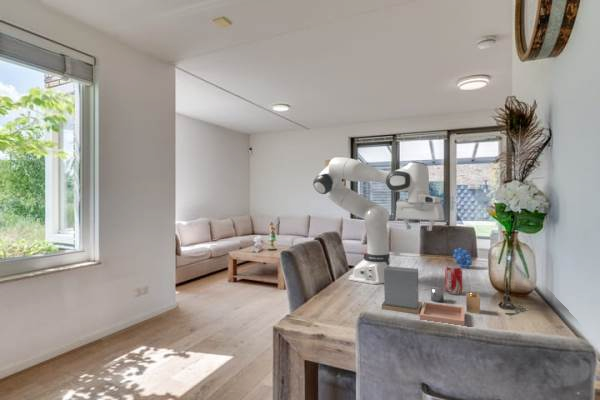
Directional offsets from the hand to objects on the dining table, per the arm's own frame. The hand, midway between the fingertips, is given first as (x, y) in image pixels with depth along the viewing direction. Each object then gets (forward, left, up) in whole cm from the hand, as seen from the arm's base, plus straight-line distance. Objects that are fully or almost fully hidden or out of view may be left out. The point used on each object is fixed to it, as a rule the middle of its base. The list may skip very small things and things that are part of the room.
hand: (418, 229), depth 137 cm
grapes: (+16, +64, -30) cm, 72 cm away
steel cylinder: (+7, -3, -29) cm, 30 cm away
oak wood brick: (+20, -10, -29) cm, 37 cm away
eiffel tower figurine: (+33, -1, -30) cm, 44 cm away
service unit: (-5, -17, -29) cm, 34 cm away
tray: (+10, -22, -29) cm, 38 cm away
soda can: (+13, +11, -30) cm, 34 cm away
